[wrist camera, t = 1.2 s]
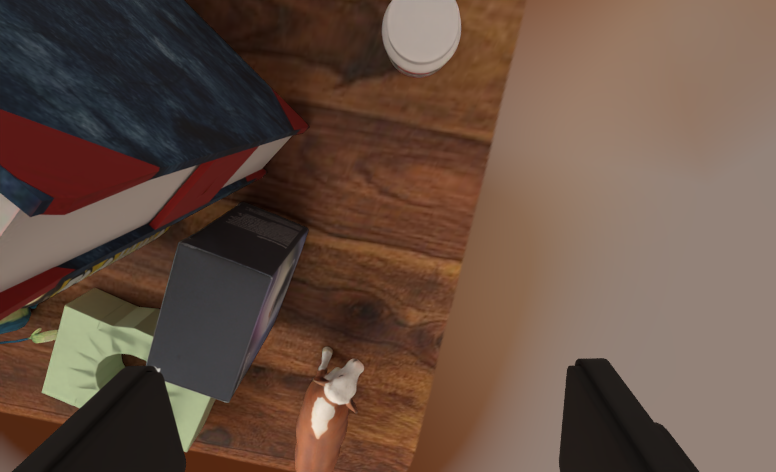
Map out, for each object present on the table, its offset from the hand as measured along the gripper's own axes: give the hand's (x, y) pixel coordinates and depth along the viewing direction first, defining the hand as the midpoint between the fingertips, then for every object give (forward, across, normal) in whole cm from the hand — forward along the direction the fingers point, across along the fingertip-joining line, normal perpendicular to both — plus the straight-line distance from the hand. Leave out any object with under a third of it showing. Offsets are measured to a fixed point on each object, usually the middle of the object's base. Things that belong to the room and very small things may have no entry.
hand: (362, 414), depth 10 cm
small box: (+26, +12, +6) cm, 29 cm away
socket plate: (+25, +25, +16) cm, 39 cm away
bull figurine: (+26, +7, +18) cm, 32 cm away
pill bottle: (+26, -2, -11) cm, 28 cm away
